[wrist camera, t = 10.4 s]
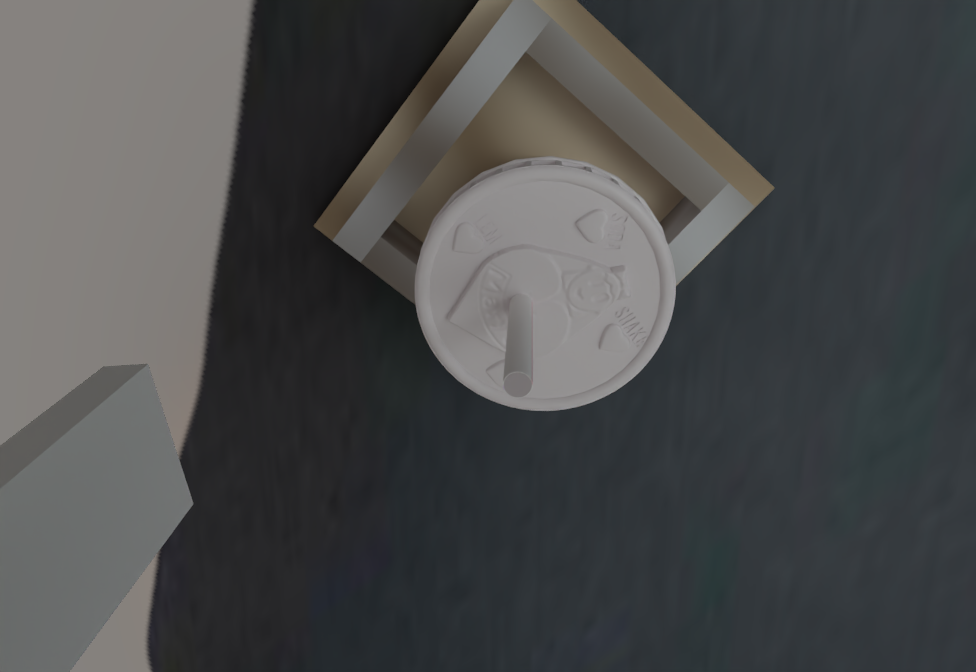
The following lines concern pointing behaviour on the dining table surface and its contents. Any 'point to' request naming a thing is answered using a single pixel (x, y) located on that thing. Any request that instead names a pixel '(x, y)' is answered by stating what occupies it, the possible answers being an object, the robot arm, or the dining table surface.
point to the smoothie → (545, 284)
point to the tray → (538, 137)
